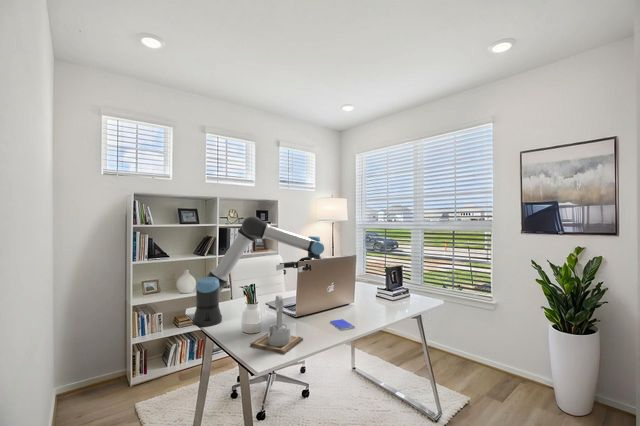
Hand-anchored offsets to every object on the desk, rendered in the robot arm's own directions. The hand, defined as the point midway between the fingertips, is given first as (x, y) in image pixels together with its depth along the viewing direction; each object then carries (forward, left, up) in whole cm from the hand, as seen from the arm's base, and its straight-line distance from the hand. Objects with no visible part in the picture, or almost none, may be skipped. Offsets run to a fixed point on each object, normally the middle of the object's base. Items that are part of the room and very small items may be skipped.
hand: (287, 268), depth 164 cm
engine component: (+9, -22, -29) cm, 37 cm away
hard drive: (+26, +13, -31) cm, 42 cm away
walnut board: (+8, -22, -30) cm, 38 cm away
